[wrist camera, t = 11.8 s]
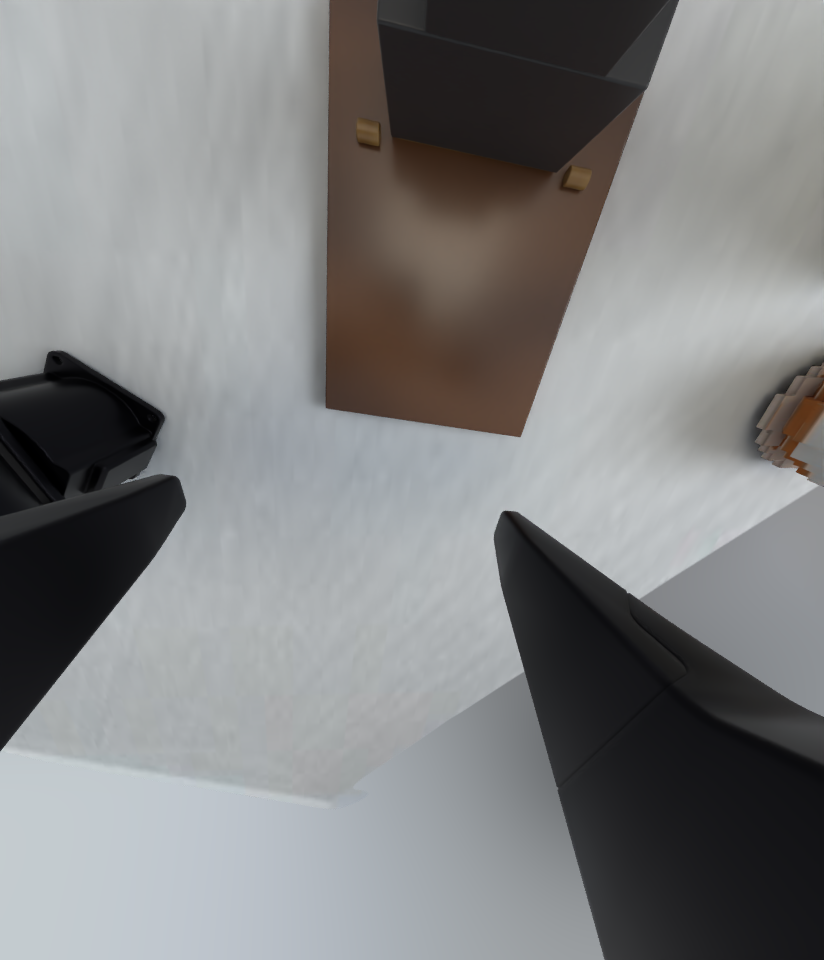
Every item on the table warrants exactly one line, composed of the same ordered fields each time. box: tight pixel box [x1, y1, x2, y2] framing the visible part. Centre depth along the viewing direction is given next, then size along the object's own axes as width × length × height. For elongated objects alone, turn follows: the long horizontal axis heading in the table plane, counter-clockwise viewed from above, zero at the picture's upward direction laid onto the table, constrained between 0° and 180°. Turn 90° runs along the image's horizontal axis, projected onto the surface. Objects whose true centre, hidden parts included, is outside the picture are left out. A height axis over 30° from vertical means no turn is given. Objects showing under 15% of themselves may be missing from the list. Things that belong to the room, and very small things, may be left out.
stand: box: [326, 0, 644, 437], centre depth 16 cm, size 16×13×2 cm
